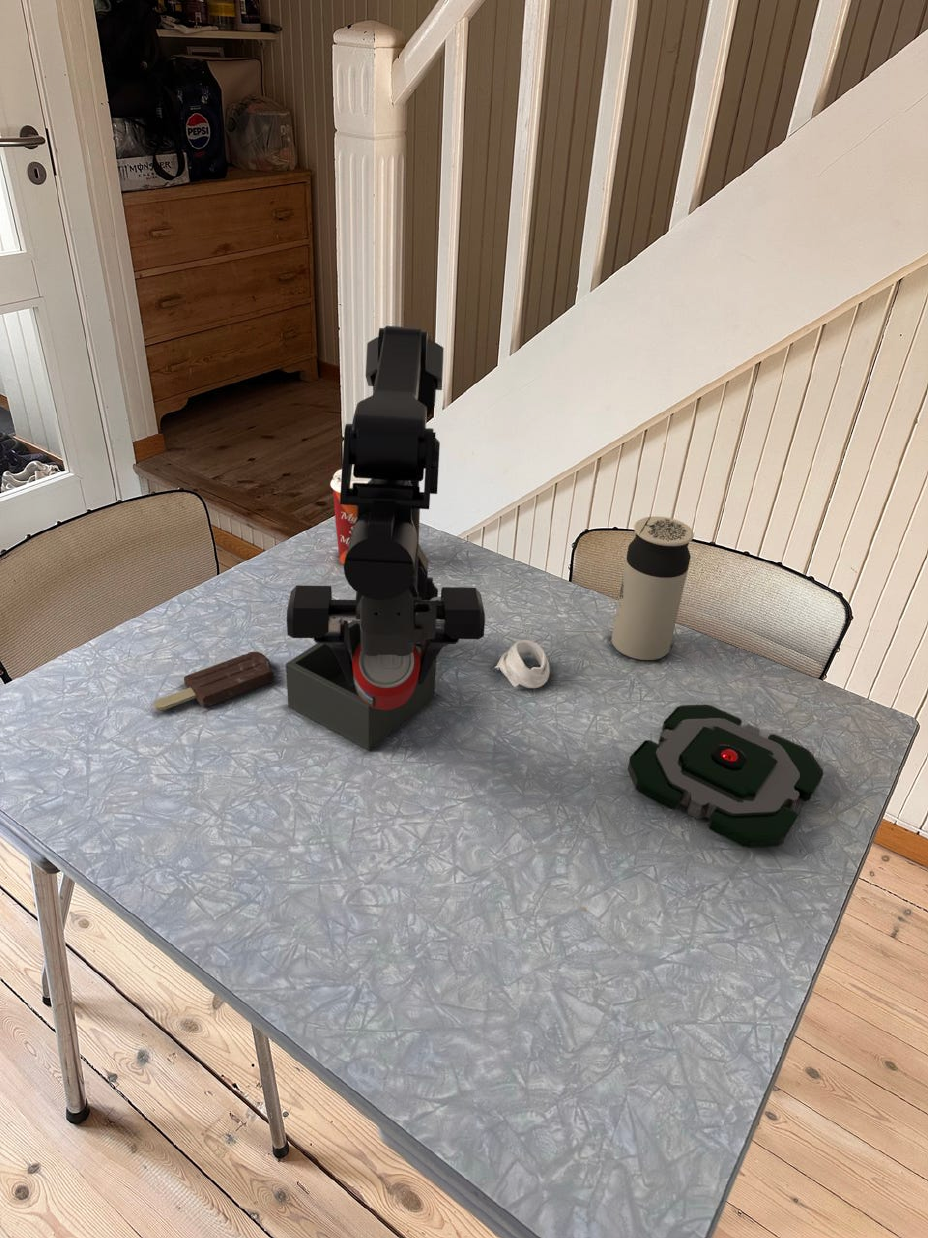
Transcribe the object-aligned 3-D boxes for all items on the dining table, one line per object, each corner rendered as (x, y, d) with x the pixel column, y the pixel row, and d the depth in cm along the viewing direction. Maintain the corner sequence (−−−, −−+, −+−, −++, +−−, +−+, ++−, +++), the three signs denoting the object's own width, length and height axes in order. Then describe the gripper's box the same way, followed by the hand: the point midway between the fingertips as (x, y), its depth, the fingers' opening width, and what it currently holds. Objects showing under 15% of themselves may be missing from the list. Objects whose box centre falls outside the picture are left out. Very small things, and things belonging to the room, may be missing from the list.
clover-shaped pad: (613, 788, 96) (619, 757, 93) (683, 710, 108) (690, 680, 106) (769, 871, 87) (781, 839, 85) (825, 776, 100) (837, 746, 97)
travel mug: (677, 642, 121) (704, 526, 111) (656, 669, 115) (682, 550, 105) (625, 622, 124) (646, 509, 114) (601, 648, 118) (622, 531, 109)
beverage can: (354, 650, 96) (351, 625, 84) (415, 650, 96) (421, 626, 85) (354, 711, 94) (351, 694, 83) (416, 711, 95) (422, 694, 83)
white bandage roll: (522, 657, 117) (524, 625, 115) (563, 674, 113) (566, 642, 111) (484, 679, 112) (486, 645, 109) (526, 698, 108) (529, 664, 106)
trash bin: (357, 659, 113) (356, 617, 109) (434, 697, 107) (436, 654, 104) (288, 707, 104) (285, 663, 101) (368, 751, 98) (368, 706, 95)
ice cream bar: (164, 724, 100) (280, 679, 109) (162, 713, 99) (279, 668, 108) (146, 701, 103) (259, 658, 112) (144, 690, 103) (258, 648, 111)
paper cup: (343, 575, 131) (341, 490, 123) (325, 552, 136) (322, 469, 128) (390, 565, 134) (392, 482, 126) (371, 543, 139) (371, 462, 132)
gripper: (276, 587, 73) (285, 733, 81) (497, 589, 75) (484, 732, 83) (288, 529, 82) (295, 665, 90) (484, 533, 84) (473, 666, 92)
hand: (385, 683), depth 89 cm, fingers closed on beverage can, 7 cm apart
